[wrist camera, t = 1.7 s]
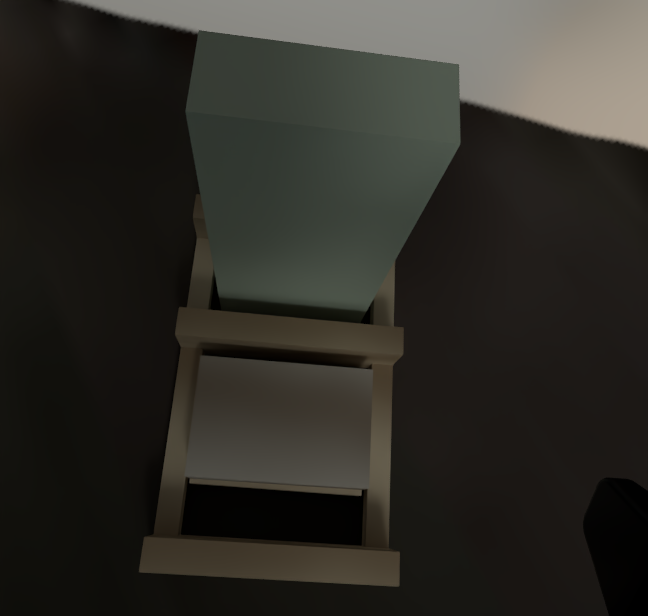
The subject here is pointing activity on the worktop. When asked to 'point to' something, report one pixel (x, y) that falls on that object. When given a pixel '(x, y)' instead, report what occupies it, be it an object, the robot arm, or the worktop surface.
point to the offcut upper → (281, 423)
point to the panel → (313, 168)
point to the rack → (283, 345)
